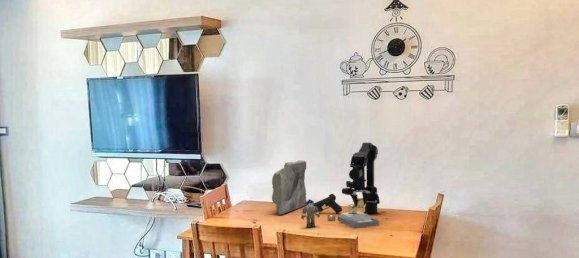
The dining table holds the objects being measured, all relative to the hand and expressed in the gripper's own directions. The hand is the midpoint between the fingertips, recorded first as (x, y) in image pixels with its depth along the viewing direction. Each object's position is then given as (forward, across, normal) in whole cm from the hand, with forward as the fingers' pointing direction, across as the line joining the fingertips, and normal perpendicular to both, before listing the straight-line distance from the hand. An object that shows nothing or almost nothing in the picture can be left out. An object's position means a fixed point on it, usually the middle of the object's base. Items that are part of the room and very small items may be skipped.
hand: (359, 206), depth 249 cm
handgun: (+10, +6, -31) cm, 33 cm away
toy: (+10, +27, -5) cm, 29 cm away
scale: (+10, 0, -3) cm, 10 cm away
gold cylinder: (+1, 0, 0) cm, 1 cm away
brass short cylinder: (+6, 0, -9) cm, 10 cm away
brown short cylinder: (+10, +10, -14) cm, 20 cm away
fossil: (+10, +22, -49) cm, 54 cm away
